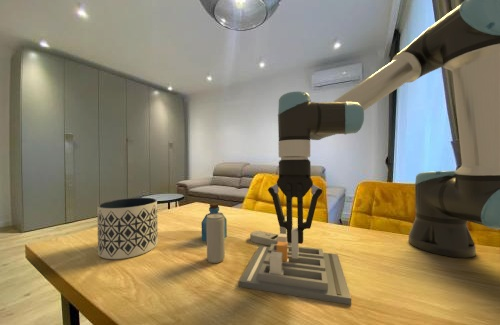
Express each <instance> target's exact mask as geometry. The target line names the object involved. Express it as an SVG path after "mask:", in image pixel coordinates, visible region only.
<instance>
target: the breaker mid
mask: <svg viewBox="0 0 500 325" xmlns="http://www.w3.org/2000/svg"><path fill="white" fill-rule="evenodd" d="M277 252H282V261H284V262H289V258H288V243H287V242H278V243H277Z"/></svg>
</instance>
